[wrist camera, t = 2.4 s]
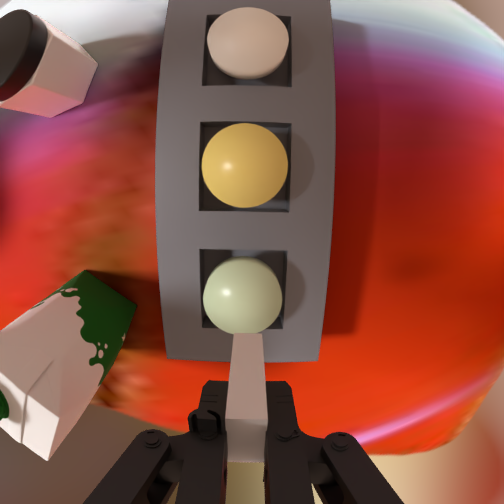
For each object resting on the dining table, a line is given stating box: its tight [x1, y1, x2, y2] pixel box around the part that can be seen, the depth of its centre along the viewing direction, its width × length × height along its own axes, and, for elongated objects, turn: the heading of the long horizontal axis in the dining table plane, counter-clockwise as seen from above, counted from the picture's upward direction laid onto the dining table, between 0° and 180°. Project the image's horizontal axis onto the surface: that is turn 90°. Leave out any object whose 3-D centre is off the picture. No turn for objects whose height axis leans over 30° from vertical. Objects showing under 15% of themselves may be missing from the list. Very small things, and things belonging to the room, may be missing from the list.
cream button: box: [207, 7, 289, 80], centre depth 19 cm, size 6×6×2 cm
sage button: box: [203, 256, 282, 334], centre depth 24 cm, size 6×6×2 cm
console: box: [155, 0, 336, 362], centre depth 25 cm, size 14×34×5 cm, turn 179°
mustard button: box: [202, 123, 288, 208], centre depth 22 cm, size 6×6×2 cm
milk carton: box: [0, 270, 137, 461], centre depth 21 cm, size 9×9×20 cm
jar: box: [0, 9, 98, 118], centre depth 19 cm, size 9×8×12 cm
